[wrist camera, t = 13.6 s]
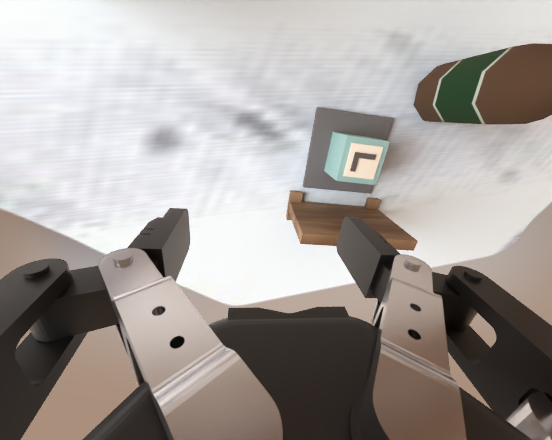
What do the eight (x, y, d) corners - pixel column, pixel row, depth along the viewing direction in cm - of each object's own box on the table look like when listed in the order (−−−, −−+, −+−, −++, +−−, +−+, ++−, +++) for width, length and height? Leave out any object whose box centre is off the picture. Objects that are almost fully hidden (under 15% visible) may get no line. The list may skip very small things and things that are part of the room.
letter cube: (332, 131, 35) (348, 135, 29) (369, 136, 36) (391, 141, 30) (324, 170, 37) (337, 181, 32) (358, 174, 38) (377, 185, 32)
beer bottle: (401, 110, 35) (641, 108, 13) (433, 53, 32) (801, -65, 11) (439, 130, 37) (703, 157, 15) (472, 78, 34) (854, 22, 13)
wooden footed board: (290, 190, 39) (305, 220, 28) (377, 198, 41) (422, 229, 30) (286, 217, 41) (298, 255, 30) (369, 223, 43) (408, 260, 32)
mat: (316, 107, 34) (317, 107, 33) (391, 118, 35) (393, 118, 35) (302, 186, 39) (303, 187, 38) (369, 192, 40) (370, 193, 40)
